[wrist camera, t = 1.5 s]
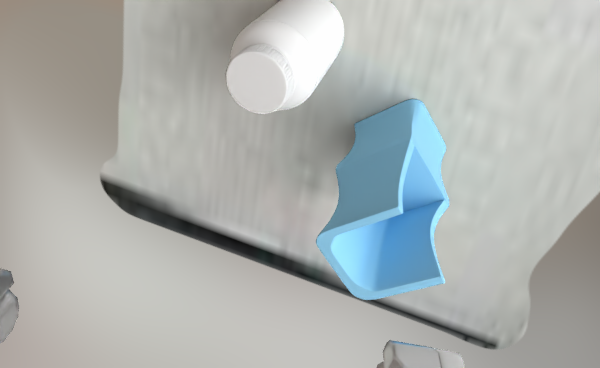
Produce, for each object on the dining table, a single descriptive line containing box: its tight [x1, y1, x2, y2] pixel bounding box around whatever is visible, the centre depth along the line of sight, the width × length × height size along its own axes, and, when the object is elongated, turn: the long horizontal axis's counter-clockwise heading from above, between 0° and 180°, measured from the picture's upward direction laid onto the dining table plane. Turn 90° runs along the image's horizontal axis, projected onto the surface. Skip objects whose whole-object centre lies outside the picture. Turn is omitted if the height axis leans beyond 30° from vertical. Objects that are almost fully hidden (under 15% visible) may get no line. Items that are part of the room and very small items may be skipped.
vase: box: [316, 99, 449, 300], centre depth 44 cm, size 8×8×20 cm
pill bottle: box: [226, 0, 344, 114], centre depth 42 cm, size 8×8×15 cm
